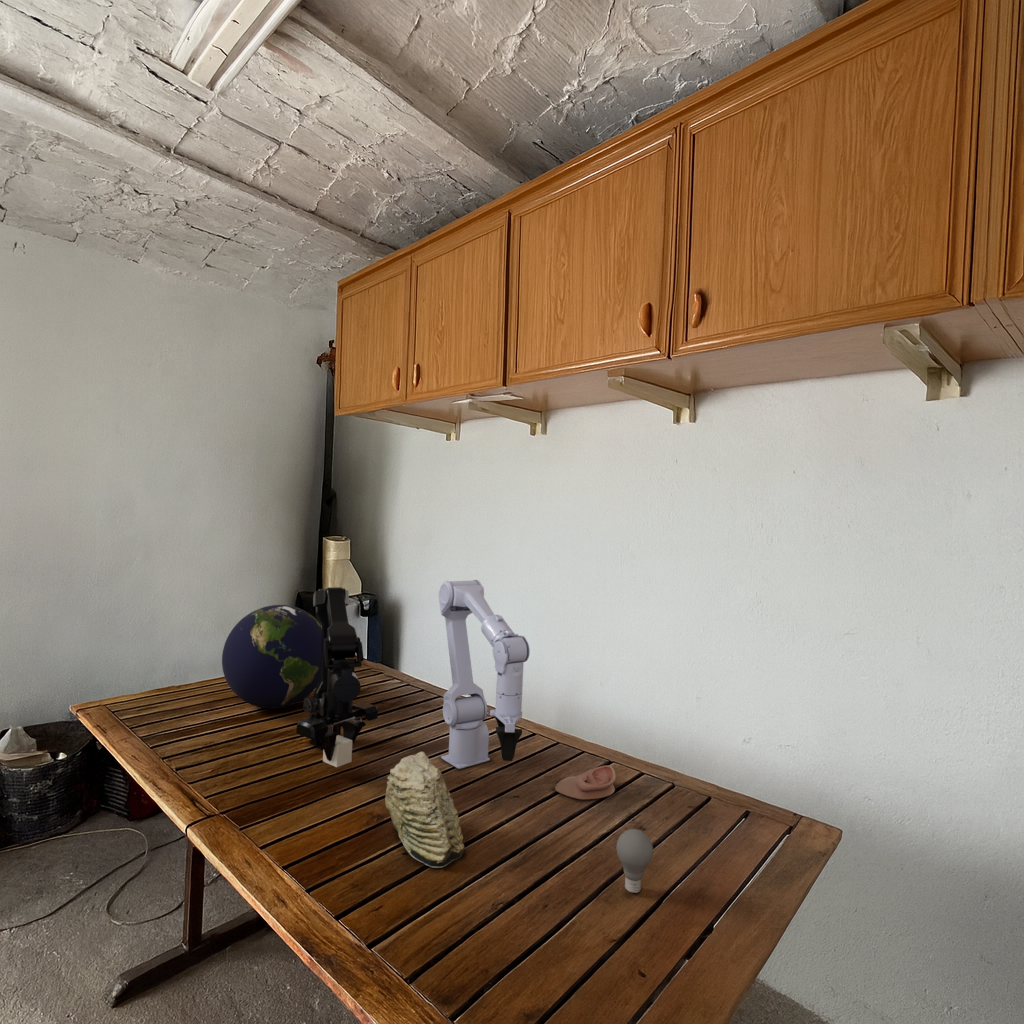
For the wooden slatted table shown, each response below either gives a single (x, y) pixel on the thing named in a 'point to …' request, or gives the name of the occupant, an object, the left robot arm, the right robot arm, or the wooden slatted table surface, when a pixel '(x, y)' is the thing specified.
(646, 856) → the light bulb
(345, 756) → the beige cube
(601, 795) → the anatomical model
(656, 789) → the wooden slatted table surface
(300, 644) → the globe
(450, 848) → the fossil
